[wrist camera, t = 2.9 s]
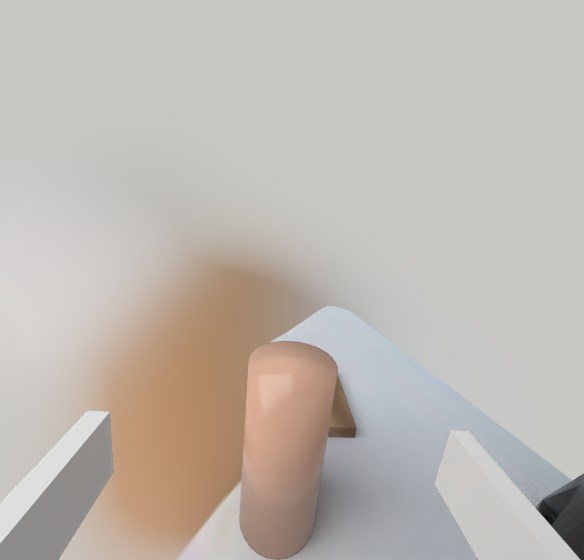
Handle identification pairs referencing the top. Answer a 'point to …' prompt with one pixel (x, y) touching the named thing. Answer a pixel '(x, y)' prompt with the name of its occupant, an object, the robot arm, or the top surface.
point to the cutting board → (341, 415)
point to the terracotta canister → (284, 445)
